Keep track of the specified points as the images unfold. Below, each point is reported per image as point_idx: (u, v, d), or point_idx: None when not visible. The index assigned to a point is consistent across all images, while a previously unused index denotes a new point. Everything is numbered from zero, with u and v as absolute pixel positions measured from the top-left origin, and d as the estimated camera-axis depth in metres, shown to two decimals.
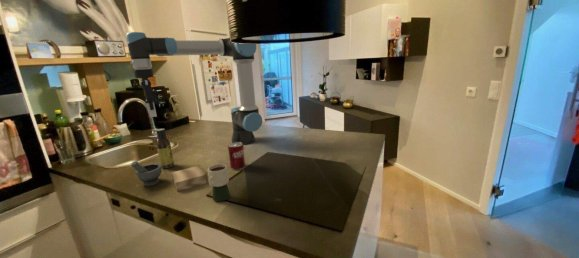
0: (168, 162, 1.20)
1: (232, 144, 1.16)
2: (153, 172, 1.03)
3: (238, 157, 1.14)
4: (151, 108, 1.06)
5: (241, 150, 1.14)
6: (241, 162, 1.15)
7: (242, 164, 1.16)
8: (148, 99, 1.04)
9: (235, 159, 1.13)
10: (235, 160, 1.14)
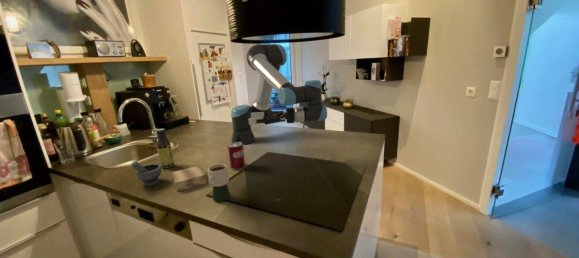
0: (168, 162, 1.20)
1: (232, 144, 1.16)
2: (153, 172, 1.03)
3: (238, 157, 1.14)
4: None
5: (241, 150, 1.14)
6: (241, 162, 1.15)
7: (242, 164, 1.16)
8: None
9: (235, 159, 1.13)
10: (235, 160, 1.14)
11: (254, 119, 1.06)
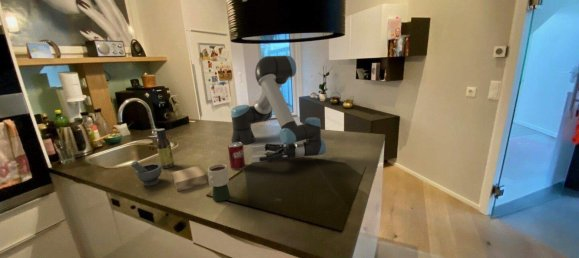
0: (168, 162, 1.20)
1: (232, 144, 1.16)
2: (153, 172, 1.03)
3: (238, 157, 1.14)
4: None
5: (241, 150, 1.14)
6: (241, 162, 1.15)
7: (242, 164, 1.16)
8: None
9: (235, 159, 1.13)
10: (235, 160, 1.14)
11: (257, 157, 1.11)
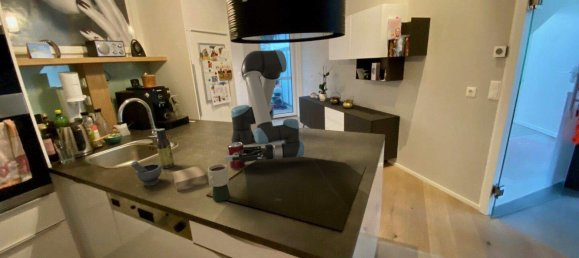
0: (168, 162, 1.20)
1: (232, 144, 1.16)
2: (153, 172, 1.03)
3: None
4: None
5: (241, 150, 1.14)
6: None
7: (242, 164, 1.16)
8: None
9: None
10: None
11: (230, 157, 1.12)
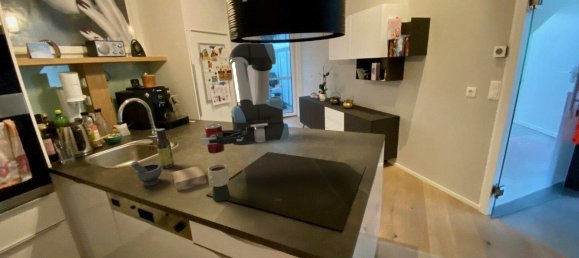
0: (168, 162, 1.20)
1: (209, 126, 1.05)
2: (153, 172, 1.03)
3: None
4: None
5: (219, 132, 1.04)
6: (220, 145, 1.05)
7: (221, 148, 1.06)
8: None
9: None
10: None
11: (207, 139, 1.02)
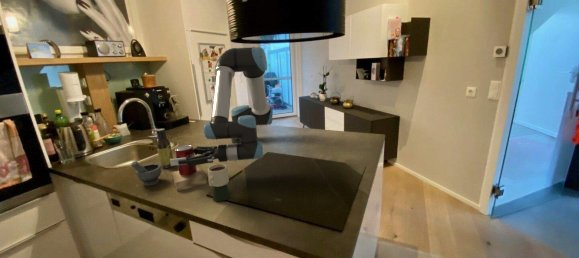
0: (168, 162, 1.20)
1: (180, 147, 1.02)
2: (153, 172, 1.03)
3: None
4: None
5: (190, 154, 1.01)
6: (190, 167, 1.02)
7: (192, 170, 1.02)
8: None
9: None
10: (183, 165, 1.00)
11: (176, 160, 0.97)
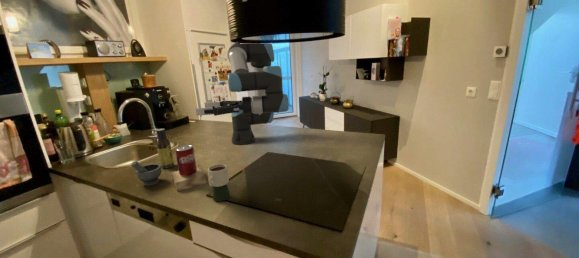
0: (168, 162, 1.20)
1: (180, 147, 1.02)
2: (153, 172, 1.03)
3: (187, 163, 1.00)
4: None
5: (190, 154, 1.01)
6: (191, 167, 1.02)
7: (192, 170, 1.02)
8: None
9: (183, 164, 1.00)
10: (183, 165, 1.00)
11: (202, 109, 0.92)
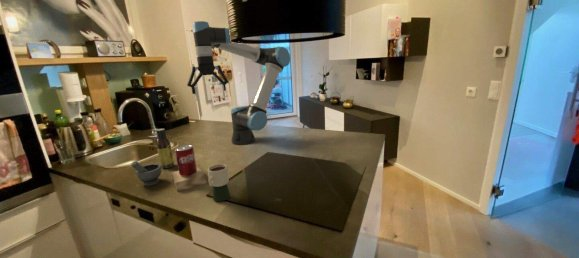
0: (168, 162, 1.20)
1: (180, 147, 1.02)
2: (153, 172, 1.03)
3: (187, 163, 1.00)
4: None
5: (190, 154, 1.01)
6: (191, 167, 1.02)
7: (192, 170, 1.02)
8: None
9: (183, 164, 1.00)
10: (183, 165, 1.00)
11: (195, 95, 1.19)
